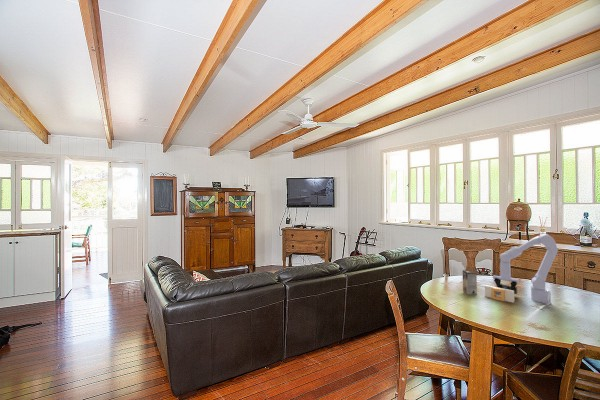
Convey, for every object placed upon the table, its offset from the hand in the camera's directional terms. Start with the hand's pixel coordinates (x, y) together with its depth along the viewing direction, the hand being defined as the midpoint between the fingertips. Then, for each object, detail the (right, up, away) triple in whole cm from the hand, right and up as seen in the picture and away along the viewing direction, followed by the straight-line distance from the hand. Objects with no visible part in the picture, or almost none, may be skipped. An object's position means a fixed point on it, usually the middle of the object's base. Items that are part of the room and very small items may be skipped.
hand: (505, 291), depth 194 cm
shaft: (-4, -1, -3) cm, 5 cm away
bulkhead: (-9, -4, -7) cm, 12 cm away
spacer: (-10, -3, -8) cm, 13 cm away
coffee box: (-20, -5, +8) cm, 22 cm away
